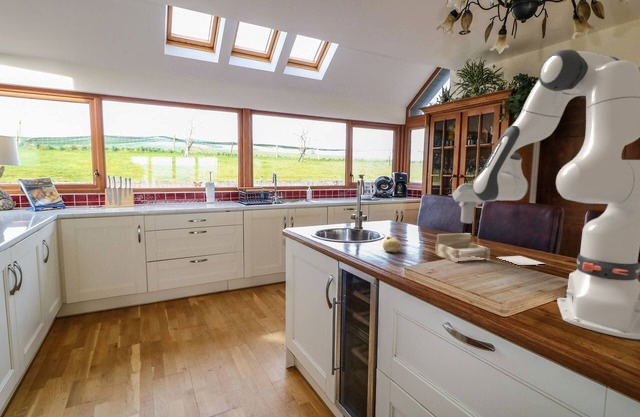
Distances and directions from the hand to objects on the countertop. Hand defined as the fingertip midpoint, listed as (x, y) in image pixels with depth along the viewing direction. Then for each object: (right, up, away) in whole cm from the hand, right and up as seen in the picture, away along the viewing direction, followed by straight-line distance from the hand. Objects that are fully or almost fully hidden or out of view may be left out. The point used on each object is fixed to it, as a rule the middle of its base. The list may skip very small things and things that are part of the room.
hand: (467, 205), depth 139 cm
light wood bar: (-2, -22, -4) cm, 23 cm away
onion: (-30, -21, +8) cm, 38 cm away
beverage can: (0, -7, +1) cm, 7 cm away
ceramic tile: (+19, -23, -5) cm, 30 cm away
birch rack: (-3, -22, 0) cm, 22 cm away
